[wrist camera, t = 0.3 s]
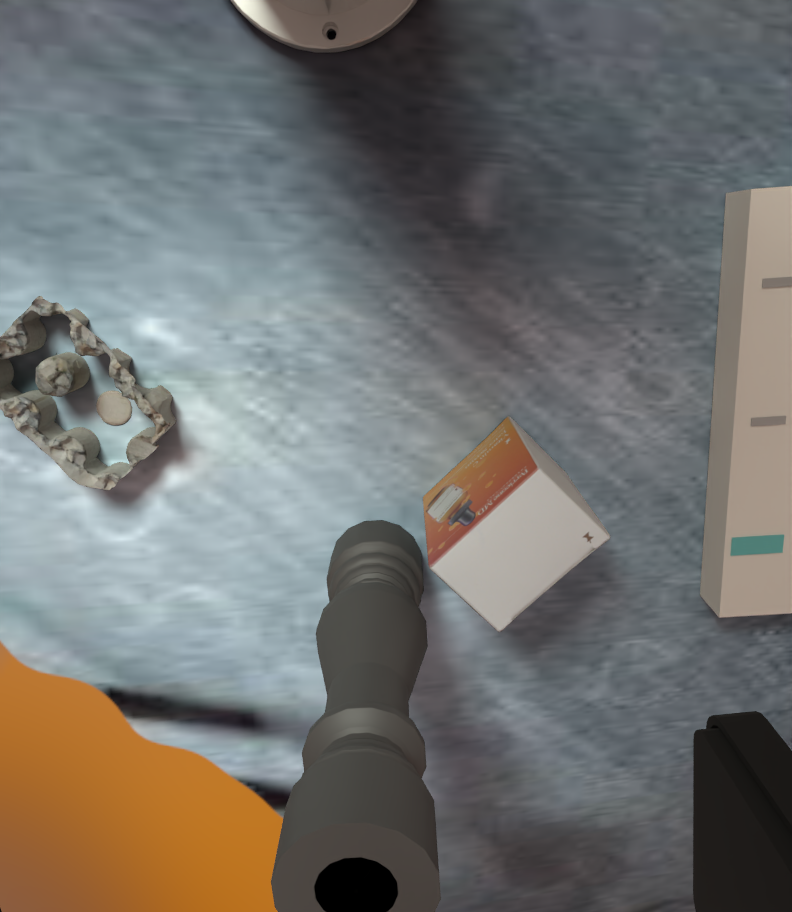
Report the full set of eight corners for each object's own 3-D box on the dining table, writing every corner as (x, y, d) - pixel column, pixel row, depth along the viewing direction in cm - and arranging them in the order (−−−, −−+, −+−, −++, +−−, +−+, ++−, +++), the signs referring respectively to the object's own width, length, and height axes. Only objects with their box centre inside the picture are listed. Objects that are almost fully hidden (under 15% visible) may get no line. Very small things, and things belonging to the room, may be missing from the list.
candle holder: (336, 514, 46) (270, 805, 22) (428, 525, 46) (462, 826, 22) (326, 597, 48) (256, 950, 24) (415, 607, 48) (434, 967, 24)
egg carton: (196, 412, 44) (177, 428, 40) (117, 485, 46) (91, 508, 42) (67, 283, 42) (34, 288, 38) (-11, 365, 43) (-52, 378, 39)
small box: (508, 413, 44) (542, 462, 34) (566, 472, 45) (615, 537, 35) (419, 497, 46) (425, 568, 36) (477, 552, 47) (499, 636, 37)
